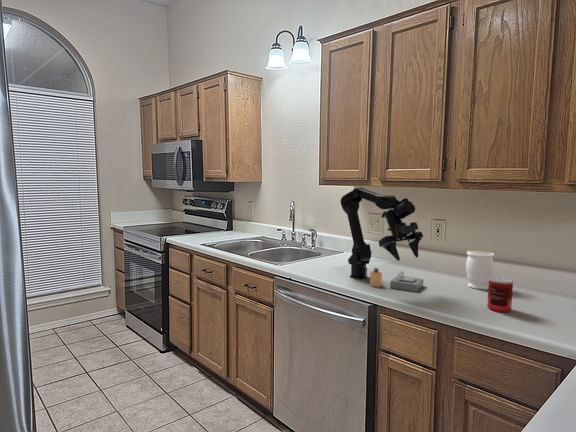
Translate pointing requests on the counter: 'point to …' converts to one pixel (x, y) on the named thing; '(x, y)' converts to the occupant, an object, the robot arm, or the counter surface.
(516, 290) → the counter surface
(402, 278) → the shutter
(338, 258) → the counter surface
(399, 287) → the socket
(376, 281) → the plug
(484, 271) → the jar
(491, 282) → the canned food
